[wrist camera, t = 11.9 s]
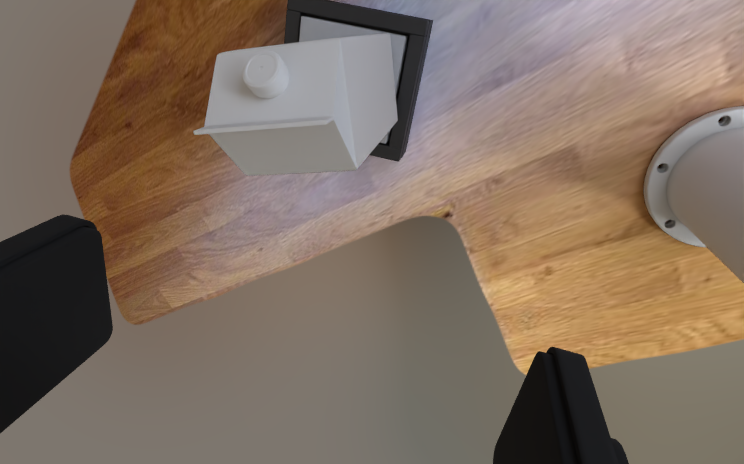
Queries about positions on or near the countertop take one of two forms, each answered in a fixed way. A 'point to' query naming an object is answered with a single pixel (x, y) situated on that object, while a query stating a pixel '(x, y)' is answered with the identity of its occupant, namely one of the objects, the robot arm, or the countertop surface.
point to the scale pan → (330, 29)
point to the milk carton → (303, 104)
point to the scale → (317, 5)
